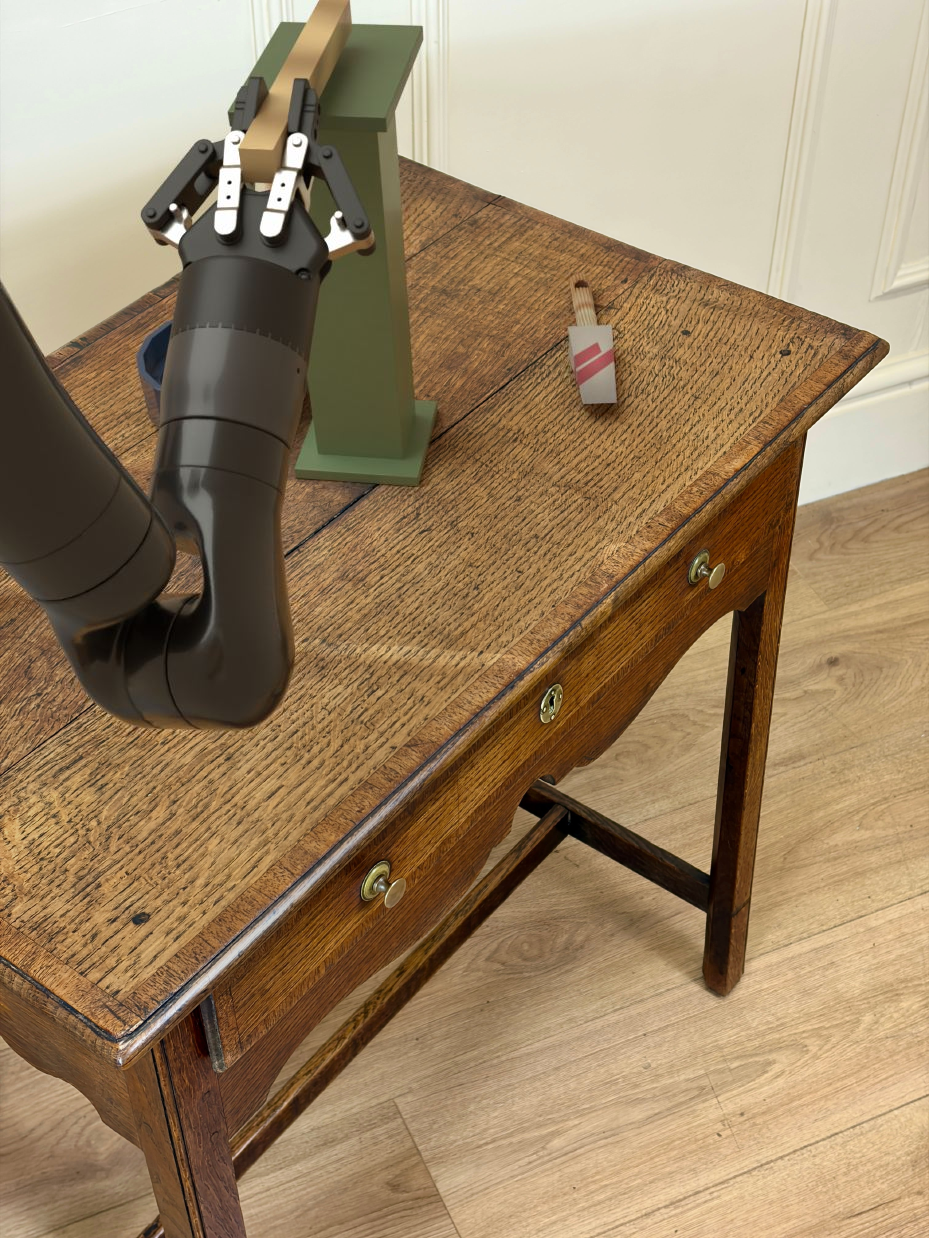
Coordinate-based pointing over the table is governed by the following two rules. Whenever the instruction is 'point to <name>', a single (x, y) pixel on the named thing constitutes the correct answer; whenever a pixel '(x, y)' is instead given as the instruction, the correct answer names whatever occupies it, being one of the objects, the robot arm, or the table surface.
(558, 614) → the table surface
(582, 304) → the paintbrush
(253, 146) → the stick
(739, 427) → the table surface
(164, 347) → the bowl
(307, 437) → the stand
